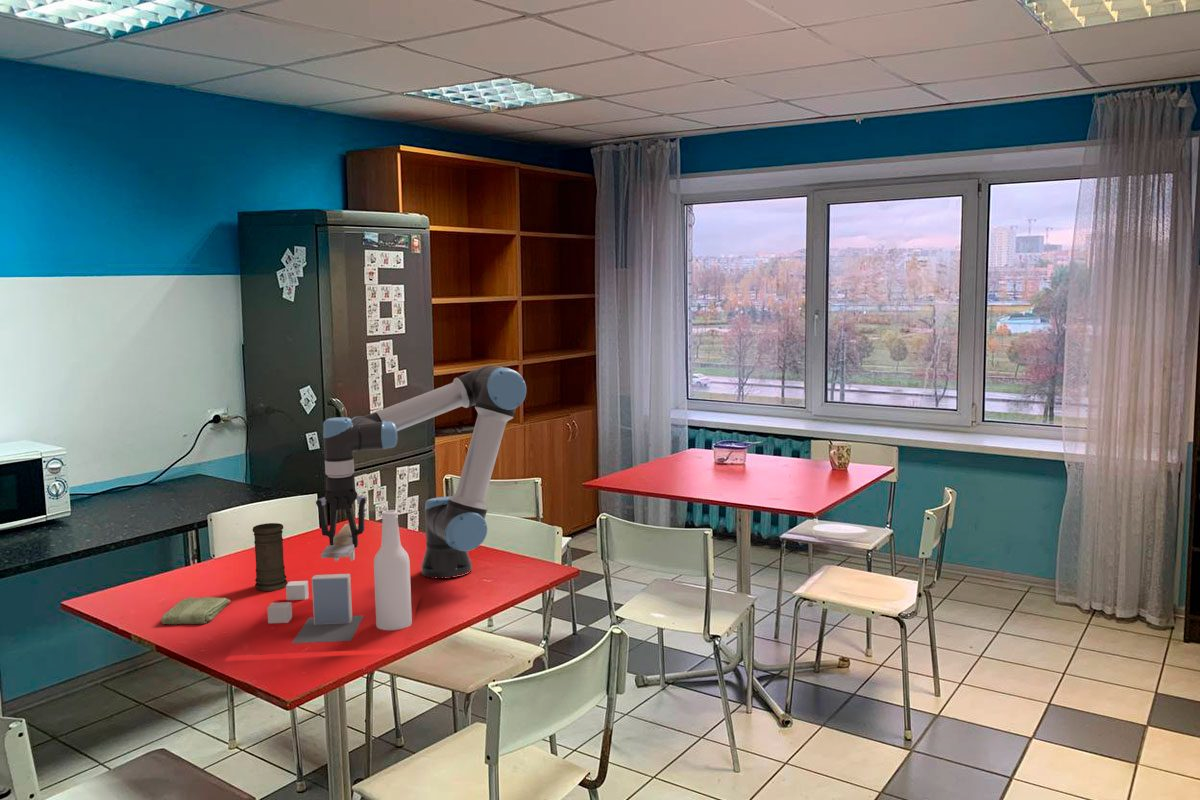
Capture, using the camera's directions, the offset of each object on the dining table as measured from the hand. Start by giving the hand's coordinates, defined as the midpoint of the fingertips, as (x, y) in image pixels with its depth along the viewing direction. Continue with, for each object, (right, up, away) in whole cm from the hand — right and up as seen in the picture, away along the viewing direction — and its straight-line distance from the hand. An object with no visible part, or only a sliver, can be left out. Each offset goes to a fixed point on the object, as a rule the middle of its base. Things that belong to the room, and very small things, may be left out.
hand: (344, 559), depth 253 cm
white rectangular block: (+2, -13, -17) cm, 21 cm away
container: (-26, -11, +17) cm, 33 cm away
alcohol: (+18, -14, -19) cm, 29 cm away
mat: (+2, -15, -21) cm, 26 cm away
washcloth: (-38, -14, -6) cm, 41 cm away
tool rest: (-13, -13, -6) cm, 20 cm away
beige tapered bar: (0, +4, 0) cm, 4 cm away
